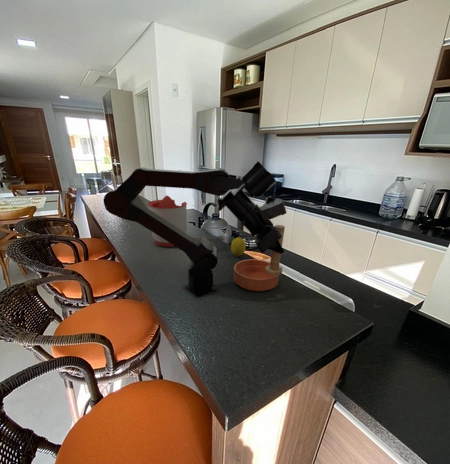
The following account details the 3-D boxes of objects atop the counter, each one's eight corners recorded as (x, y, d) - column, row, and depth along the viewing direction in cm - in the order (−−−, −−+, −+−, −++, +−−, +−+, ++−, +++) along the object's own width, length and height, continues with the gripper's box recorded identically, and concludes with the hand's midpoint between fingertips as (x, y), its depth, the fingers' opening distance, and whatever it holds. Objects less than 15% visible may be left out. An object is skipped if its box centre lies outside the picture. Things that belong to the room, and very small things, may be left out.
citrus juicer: (197, 240, 111) (197, 194, 102) (170, 252, 98) (167, 201, 89) (172, 233, 118) (169, 190, 109) (143, 243, 105) (137, 195, 96)
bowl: (255, 298, 70) (256, 284, 68) (224, 278, 80) (224, 266, 78) (287, 284, 78) (289, 271, 76) (255, 267, 88) (256, 256, 86)
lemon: (234, 260, 93) (236, 240, 90) (228, 255, 97) (228, 235, 94) (247, 258, 95) (249, 238, 92) (240, 253, 100) (241, 234, 96)
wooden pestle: (277, 276, 69) (284, 230, 63) (262, 271, 72) (267, 226, 66) (284, 270, 73) (292, 226, 67) (270, 266, 75) (275, 222, 69)
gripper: (278, 194, 53) (318, 243, 59) (262, 182, 70) (294, 221, 75) (239, 229, 56) (280, 272, 62) (233, 210, 73) (266, 245, 79)
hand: (281, 250), depth 69 cm, fingers closed on wooden pestle, 2 cm apart
